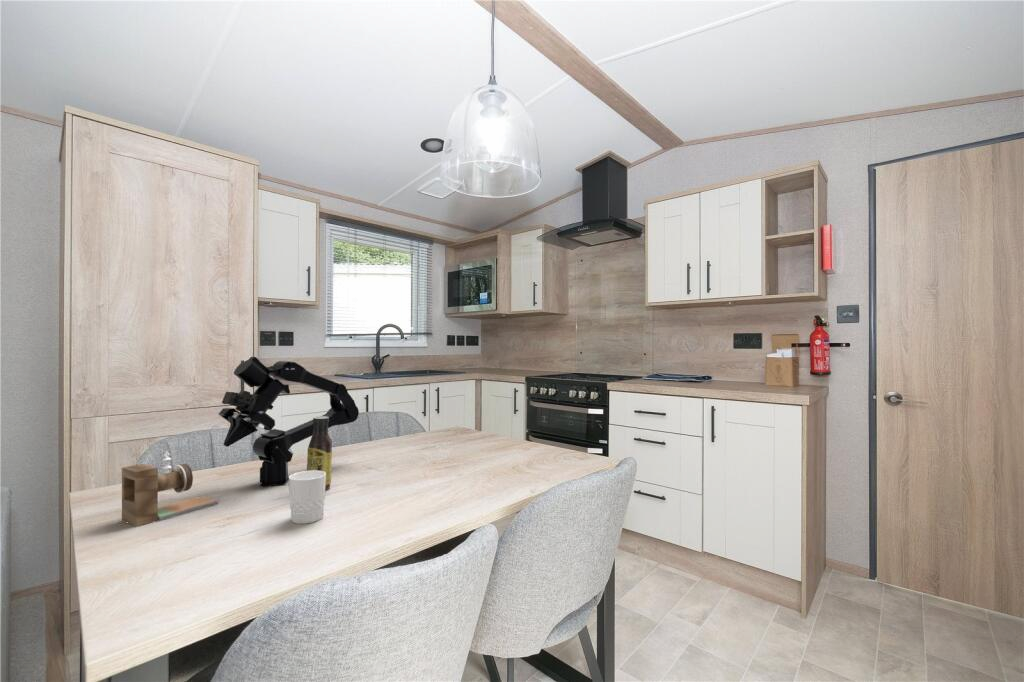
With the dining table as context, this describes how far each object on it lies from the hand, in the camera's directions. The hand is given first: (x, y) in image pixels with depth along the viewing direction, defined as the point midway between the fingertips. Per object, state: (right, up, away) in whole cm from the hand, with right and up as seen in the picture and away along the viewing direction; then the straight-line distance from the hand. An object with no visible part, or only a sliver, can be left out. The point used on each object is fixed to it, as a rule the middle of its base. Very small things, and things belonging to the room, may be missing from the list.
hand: (225, 445), depth 123 cm
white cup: (+28, -14, -15) cm, 35 cm away
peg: (-6, -9, -12) cm, 17 cm away
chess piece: (-21, -14, +7) cm, 26 cm away
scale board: (-5, -13, -9) cm, 17 cm away
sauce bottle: (+22, -14, +6) cm, 27 cm away
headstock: (-9, -13, -17) cm, 23 cm away
